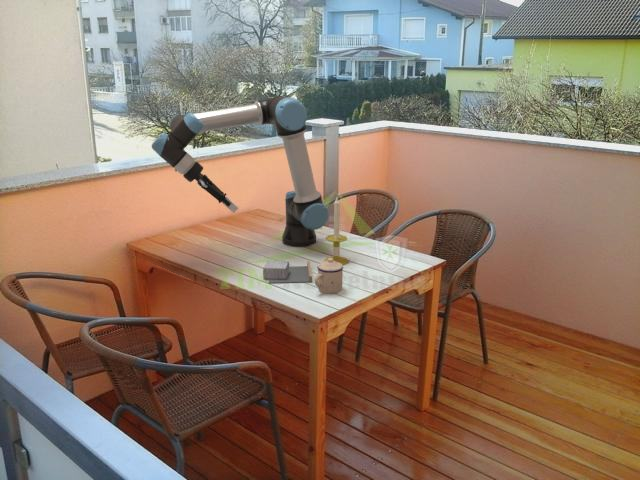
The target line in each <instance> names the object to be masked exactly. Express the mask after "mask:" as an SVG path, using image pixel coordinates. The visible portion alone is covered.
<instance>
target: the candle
mask: <svg viewBox="0 0 640 480" xmlns="http://www.w3.org/2000/svg"><path fill="white" fill-rule="evenodd" d="M325 240H326V241H328V242H331V243H333V244H332V245H333V246H332V250H333V251H332V252H333V253H332V254H333V255H332V256H328V257H326V258H324V260H323V262H325V261H328V258H332V259H333V261H336V262H339V263H341V264H342V265H343V266H344V265H347V264H348V263H349V259H348V258H347V257H345V256H340V253H341V251H340V249H341V247H340V246H341V245H340V243H342V242H343V243H344V242H346V241H347V240H348V237H347V236H346V235H341V234H340V201H339V198H338V197H336V198H335V201H334V202H333V234H330V235H328V236H326V237H325Z"/></svg>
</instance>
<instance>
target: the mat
mask: <svg viewBox="0 0 640 480" xmlns="http://www.w3.org/2000/svg"><path fill="white" fill-rule="evenodd" d="M311 266H312V265H311V261H309V260H307V265H301V266H300V265H299V266H295V265H294V266H289V273H288V276H287V278H286V279H268V284H269V285H270V284H273V285H274V284H300V283H301V284H303V283H304V284H305V283H310V284H311V283H313V274H312V273H313V272H312V267H311Z"/></svg>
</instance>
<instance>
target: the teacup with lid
mask: <svg viewBox="0 0 640 480" xmlns="http://www.w3.org/2000/svg"><path fill="white" fill-rule="evenodd" d="M327 258H328V257H327ZM343 271H344V265H342V264H341V263H339V262H336V261H333V259H332V258H328V261H325V262H324V261H323V262H320V263H318V265H317V275H316V276H315V278H314V285H315V286H316V287H317V289H318V292H320V293H322V294H327V295H333V294H334V295H335V294H339V293H341V292H342V291H343V276H344V275H343V274H344V273H343Z"/></svg>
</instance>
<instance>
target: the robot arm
mask: <svg viewBox="0 0 640 480" xmlns="http://www.w3.org/2000/svg"><path fill="white" fill-rule="evenodd" d="M307 120H308V111H307V109H306V107H305V105H304V104H303V103H302V102H301V101H300V100H298V99H296V98H294V97H287V96H284V95H283V96H282V95H278V96H272V97H269V98H264V99H260V100H256V101H254V102H253V104H245V105H238V106H232V107H226V108H222V109H221V108H220V109H214V110H208V111H203V112H197V113H192V112H188V113H187V114H184V115H183V114H176V115H174V116H173V117H171V118H170V120H169V128H170V130H171V131H170V132H169V133H168V134H167V133H166V132H162V133H160V135H159V136H158V137H157V138H155V140H153V142H152V144H151V149H152V150H153V151H154V152H155V153H156V154H157V155H158V156H159V157H160V158H161V159H163V160H164V161H165V162H166V163H167V164H168V165H170V167H172V168H173V169H174V172H175V173H176V172H178V173H179V174H180V175H183V176H182V177H183V178H185V180H187V182H189V183H192V182H194V180H196V182H197V183H196V184H197V185H198V186H200V187H201V189H203V190H204V191H206V192H207V193H209V194H210V195H211V196H212V197H214V198H215V199H216V200H217V201H218V203H219V204H223V206H225V207H226V208H227V209H228V210H230V211H231V212H232V213H233V214H235V213H236V211H237V210H238V209H239V206H238V205H237V204H235V202H234V201H232V200H231V199H230V198H229V197H228V196H227V195H228V194H227V193H225V192H224V191H222V190H221V189H220V187H218V186H217V185H216V184H215V182H213V181H212V180H211V179H210V178H209V177H208V176H207V175H206V174H203V173H202V172H203V170H204V167H203V166H202V165H201V164H200V163H199V162H198V161H196V159H195V158H194V157H193V156H192V155H191V154H190V153H188V152H187V151H186V150H185V148H186V147H187V146H188V145H189V144H190V143H191V142H192V141H193V140H194V139H195V138H196V137H197V136H198V135H200V133H204V132H205V133H206V132H211V131H216V130H222V129H228V128H235V127H241V126H247V125H253V124H258V125H259V126H263V125H275V131H276V133H277V137H279V139H282V142H283V146H284V151H285V154H286V159H287V163H288V167H289V172H290V175H291V180H292V184H293V188H294V190H291V191H287V192H286V193H285V198H284V202H285V228H284V231H283V234H282V243H283V244H284V245H286V246H287V247H296V248H297V247H298V248H302V247H309V246H312V245H315V244H316V243H317V234H316V232H315V231H316V230H319V229H321V228H323V227H324V226H325V225H326V223H327V222H328V221H329V214H330V213H329V210H328V208H327V206H326V204H324V202H323V196H322V192H320V191H318V190H317V187H316V183H315V178H314V174H313V170H312V166H311V161H310V156H309V155H310V154H309V152H308V147H307V144H306V143H307V142H306V138H305V132H306V131H307V125H306V121H307Z"/></svg>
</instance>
